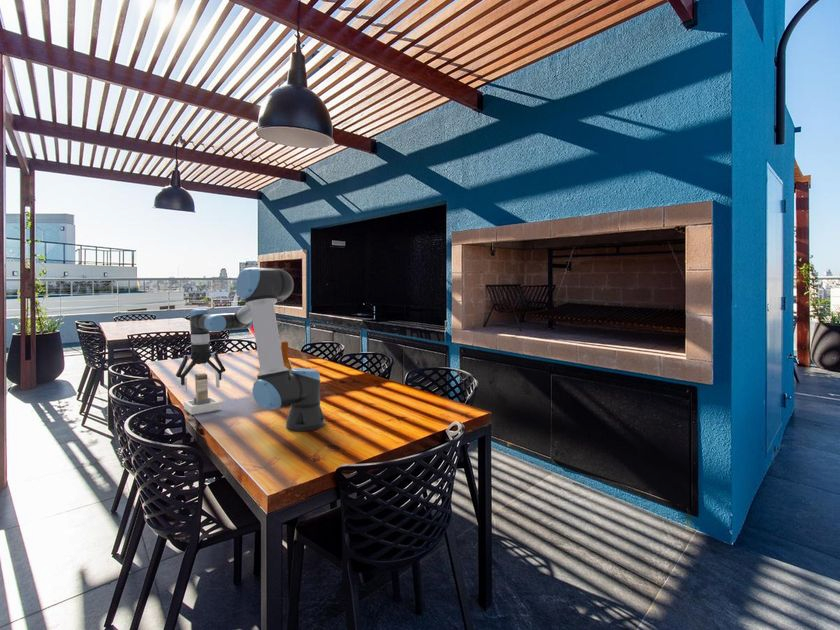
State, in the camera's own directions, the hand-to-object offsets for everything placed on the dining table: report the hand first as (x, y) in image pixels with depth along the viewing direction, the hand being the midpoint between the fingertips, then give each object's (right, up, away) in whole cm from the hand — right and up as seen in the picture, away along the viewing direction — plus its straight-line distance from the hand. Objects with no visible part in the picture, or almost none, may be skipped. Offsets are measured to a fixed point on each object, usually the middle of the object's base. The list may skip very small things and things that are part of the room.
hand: (202, 389), depth 194 cm
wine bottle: (+34, -9, +12) cm, 37 cm away
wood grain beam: (0, -7, +1) cm, 7 cm away
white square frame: (0, -9, +1) cm, 9 cm away
